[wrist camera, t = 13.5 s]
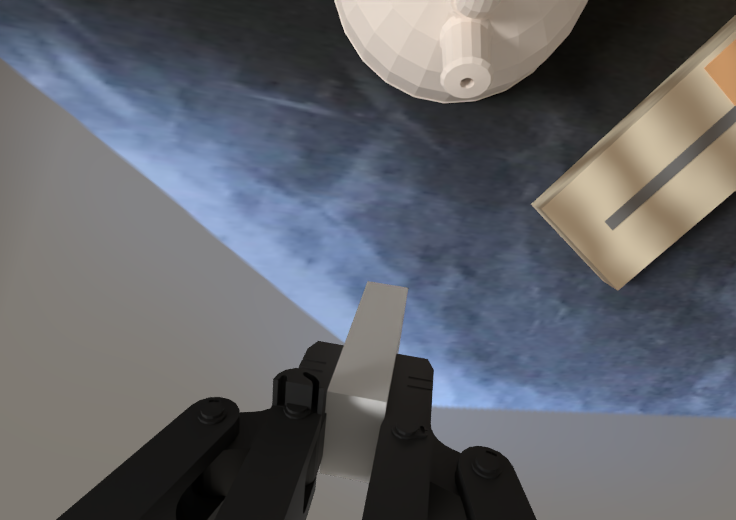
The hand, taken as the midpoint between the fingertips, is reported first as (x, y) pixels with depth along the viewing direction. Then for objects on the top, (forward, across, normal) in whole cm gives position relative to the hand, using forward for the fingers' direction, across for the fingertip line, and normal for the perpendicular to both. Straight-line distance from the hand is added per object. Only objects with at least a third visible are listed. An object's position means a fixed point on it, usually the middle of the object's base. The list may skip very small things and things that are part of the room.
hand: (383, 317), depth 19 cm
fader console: (+31, +22, +5) cm, 38 cm away
